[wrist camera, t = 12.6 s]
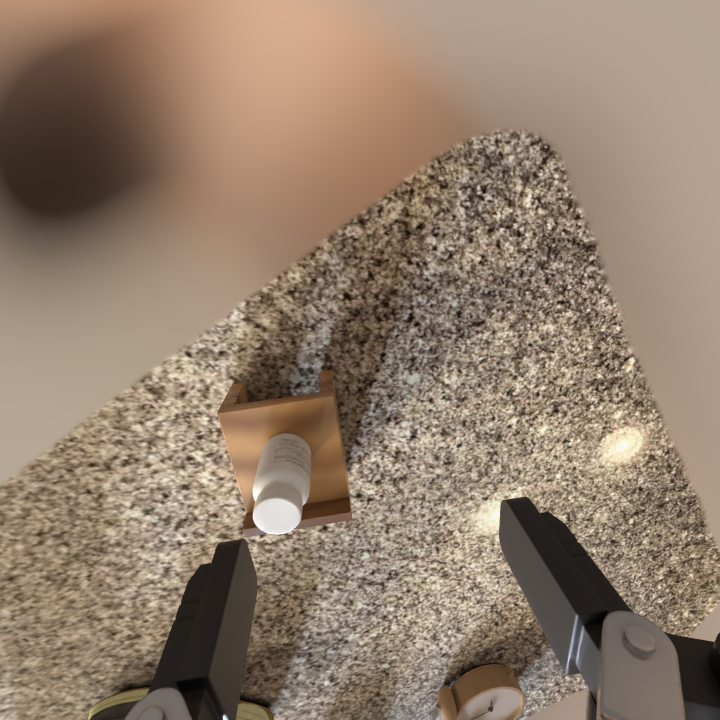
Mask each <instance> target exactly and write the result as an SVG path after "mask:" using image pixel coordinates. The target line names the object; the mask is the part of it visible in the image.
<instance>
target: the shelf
mask: <svg viewBox="0 0 720 720" xmlns="http://www.w3.org/2000/svg"><path fill="white" fill-rule="evenodd" d="M217 415H218V418H219V422H220V425H221V429H222V432H223V435H224V439H225V442H226V446H227V449H228V452H229V456H230V459H231V463H232V466H233V469H234V473H235V476H236V480H237V483H238V486H239V490H240V493H241V497H242V500H243V503H244V507H245V510H246V517H245V521H244V524H243V528H242V531H243V534H244V537H251V536H258V535H264V534H269V533H266V532H264V531H262V530H260V529H259V528H258V527H257V526H256V524H255V522H254V520H253V510H254V505H255V500H254V497H253V484H254V480H255V476H256V472H257V468H258V464H259V460H260V456H261V452H262V449H263V446H264V445H265V443H266V442H267V441H268V440H269V439H270V438H272V437H274V436H276V435H278V434H282V433H289V434H294V435H297V436H299V437H301V438H302V439H304V440H305V441H306V442H307V444H308V445H309V447H310V450H311V473H310V474H311V475H310V492H309V496H308V499H307V501H306V503H305V504H304V505H303V507H302V516H301V520H300V522H299V524H298V525H297V527H296V528H294V529H300V528H307V527H313V526H319V525H325V524H331V523H337V522H343V521H349V520H352V511H351V501H350V491H349V481H348V471H347V463H346V457H345V450H344V444H343V437H342V431H341V425H340V418H339V412H338V406H337V399H336V393H335V387H334V380H333V374H332V370H327V371H321V372H320V392H318V393H311V394H304V395H297V396H291V397H284V398H277V399H270V400H263V401H257V402H250V403H249V399H248V395H247V391H246V387H245V383H244V382H243V383H236V384H232V386H231V388H230V390H229V392H228V394H227V395H226V397H225V399H224V401H223V403H222V405H221V407H220V409H219V410H218V412H217ZM294 529H293V530H294Z"/></svg>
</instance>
